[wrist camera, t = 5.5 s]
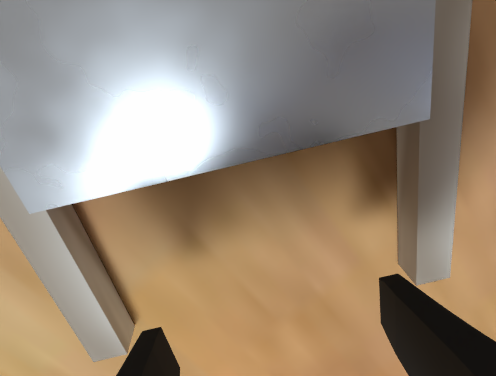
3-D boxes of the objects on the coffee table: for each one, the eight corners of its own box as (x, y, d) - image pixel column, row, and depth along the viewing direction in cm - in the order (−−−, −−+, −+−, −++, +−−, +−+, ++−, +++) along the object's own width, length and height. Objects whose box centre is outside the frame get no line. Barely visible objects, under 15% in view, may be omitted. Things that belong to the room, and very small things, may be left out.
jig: (444, -126, 9) (484, -155, 8) (428, 256, 15) (449, 277, 14) (-91, 2, 9) (-143, -6, 8) (104, 333, 15) (93, 362, 14)
